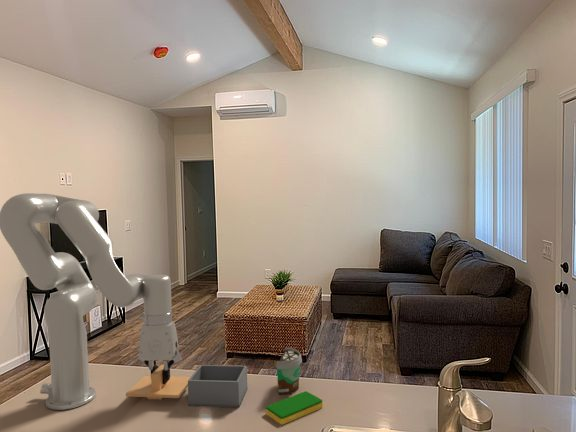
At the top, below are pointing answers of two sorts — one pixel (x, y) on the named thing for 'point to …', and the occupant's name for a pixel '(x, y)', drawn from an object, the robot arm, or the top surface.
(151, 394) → the lid
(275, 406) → the dish sponge
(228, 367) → the tub
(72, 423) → the top surface
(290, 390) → the food container
